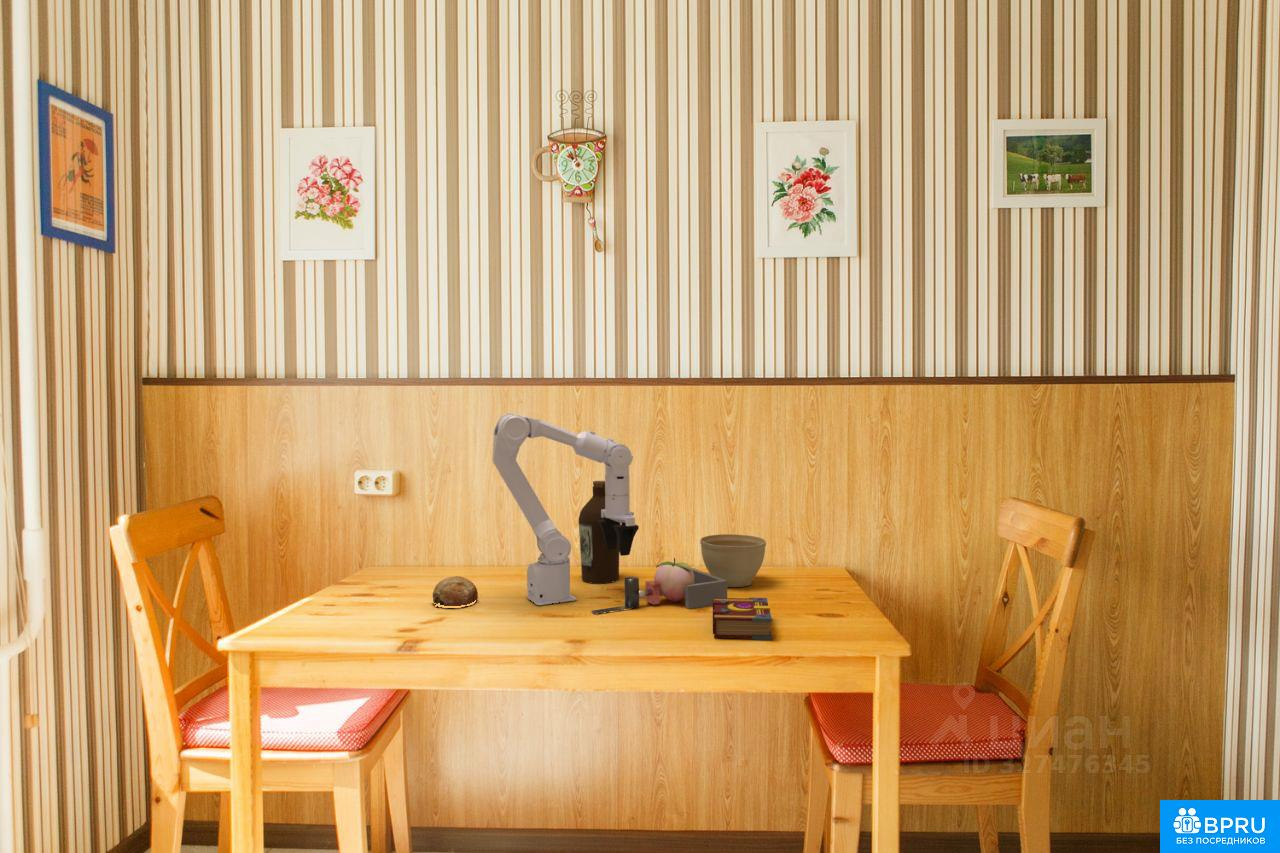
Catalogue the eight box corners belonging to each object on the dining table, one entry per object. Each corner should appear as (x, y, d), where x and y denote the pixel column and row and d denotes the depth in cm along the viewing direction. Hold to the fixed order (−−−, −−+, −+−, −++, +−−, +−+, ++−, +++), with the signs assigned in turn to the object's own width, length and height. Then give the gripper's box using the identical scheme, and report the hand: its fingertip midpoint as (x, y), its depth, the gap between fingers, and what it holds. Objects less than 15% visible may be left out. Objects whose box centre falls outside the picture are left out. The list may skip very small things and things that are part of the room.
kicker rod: (629, 608, 169) (628, 580, 168) (621, 604, 172) (621, 577, 172) (659, 603, 172) (659, 576, 172) (651, 599, 175) (651, 573, 175)
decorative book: (712, 640, 149) (712, 614, 149) (713, 616, 165) (712, 593, 165) (772, 641, 148) (772, 615, 147) (767, 617, 164) (767, 593, 163)
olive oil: (610, 572, 204) (609, 478, 203) (628, 581, 195) (627, 482, 194) (572, 577, 199) (571, 480, 198) (589, 586, 190) (588, 484, 189)
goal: (688, 609, 169) (688, 586, 169) (656, 594, 182) (656, 573, 182) (727, 602, 174) (727, 580, 174) (693, 588, 187) (693, 568, 186)
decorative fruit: (700, 599, 177) (700, 555, 177) (689, 608, 170) (688, 563, 169) (662, 595, 181) (661, 552, 181) (649, 604, 173) (648, 559, 173)
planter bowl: (745, 595, 180) (745, 548, 180) (687, 585, 190) (687, 541, 190) (777, 581, 193) (777, 538, 193) (722, 572, 203) (721, 531, 203)
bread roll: (429, 619, 176) (417, 591, 173) (456, 591, 184) (446, 563, 181) (463, 625, 171) (452, 596, 168) (489, 595, 179) (479, 567, 176)
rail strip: (595, 614, 166) (595, 613, 166) (590, 612, 168) (590, 610, 168) (632, 609, 170) (632, 607, 170) (627, 606, 172) (627, 605, 172)
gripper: (646, 497, 177) (647, 556, 178) (619, 490, 190) (620, 545, 191) (618, 499, 174) (619, 559, 175) (593, 491, 187) (593, 547, 188)
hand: (617, 552), depth 182 cm, fingers open, 7 cm apart
